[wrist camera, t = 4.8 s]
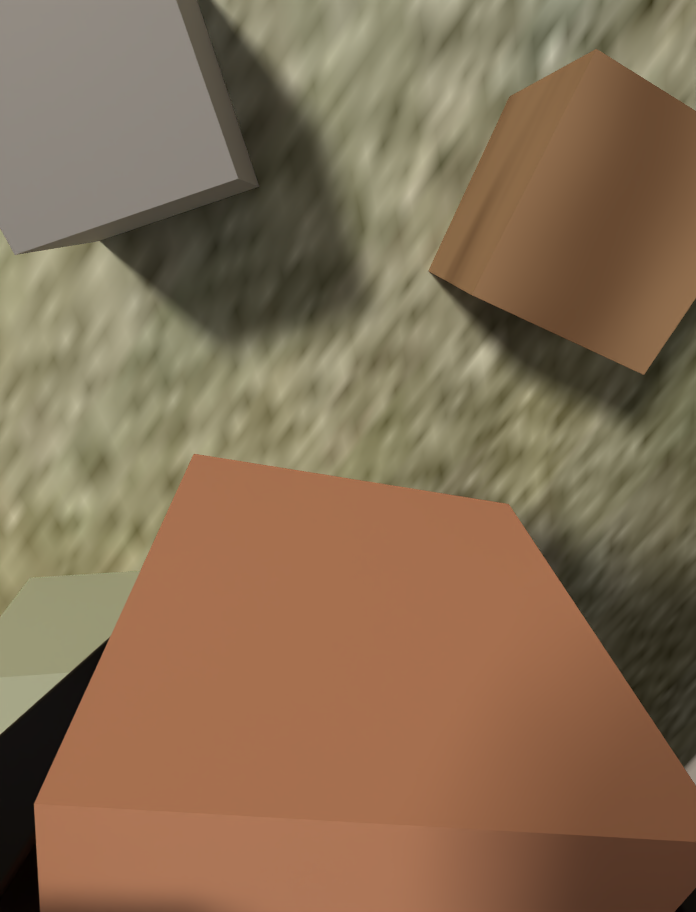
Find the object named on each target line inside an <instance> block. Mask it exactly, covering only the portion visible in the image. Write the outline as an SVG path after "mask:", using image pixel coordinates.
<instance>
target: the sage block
mask: <svg viewBox="0 0 696 912" xmlns="http://www.w3.org/2000/svg"><path fill="white" fill-rule="evenodd" d="M139 573H140V571H130V572H114V573H98V574H82V575H66V576H50V577H34V578H29V580H28V581H27V582H26V584H25V585H24V586H23V588H22V589H21V590H20V592H19V593H18V594H17V595H16V597H15V598H14V599H13V601H12V602H11V603H10V605H9V606H8V607H7V609H6V610H5V611H4V613H3V614H2V615H1V617H0V734H1V733H2V732H3V731H4V730H6V729H7V728H8V727H9V726H10V725H11V724H12V723H13V722H15V721H16V720H17V719H18V718H19V717H20V716H21V715H22V714H24V713H25V712H26V711H27V710H28V709H29V708H30V707H31V706H33V705H34V704H35V703H36V702H37V701H38V700H39V699H40V698H42V697H43V696H44V695H45V694H46V693H47V692H48V691H49V690H51V689H52V688H53V687H54V686H55V685H56V684H57V683H58V682H60V681H61V680H62V679H63V678H64V677H65V676H66V675H67V674H69V673H70V672H71V671H72V670H73V669H74V668H75V667H76V666H78V665H79V664H80V663H81V662H82V661H83V660H84V659H85V658H87V657H88V656H89V655H90V654H91V653H92V652H93V651H94V650H96V649H97V648H98V647H99V646H100V645H101V644H102V643H103V642H104V641H106V640H107V639H108V638H109V637H110V636H111V634H112V632H113V630H114V627H115V625H116V623H117V621H118V619H119V617H120V614H121V612H122V610H123V608H124V606H125V603H126V601H127V599H128V597H129V595H130V592H131V590H132V588H133V586H134V584H135V582H136V579H137V577H138V575H139Z"/></svg>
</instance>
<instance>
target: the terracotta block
mask: <svg viewBox="0 0 696 912" xmlns="http://www.w3.org/2000/svg"><path fill="white" fill-rule="evenodd" d="M34 814H35V832H36V849H37V866H38V883H39V900H40V912H675V911H676V909H677V908H678V907H679V906H680V905H681V904H682V903H683V902H684V900H685V899H686V898H687V897H688V896H689V895H690V894H691V893H692V891H693V890H694V889H695V888H696V785H695V784H694V782H693V781H692V779H691V778H690V776H689V775H688V773H687V772H686V770H685V769H684V767H683V766H682V764H681V763H680V761H679V760H678V758H677V757H676V755H675V754H674V752H673V751H672V749H671V748H670V746H669V745H668V743H667V742H666V740H665V739H664V737H663V736H662V734H661V733H660V731H659V729H658V728H657V726H656V725H655V723H654V722H653V720H652V719H651V717H650V716H649V714H648V713H647V711H646V710H645V708H644V707H643V705H642V704H641V702H640V701H639V699H638V698H637V696H636V695H635V693H634V692H633V690H632V689H631V687H630V686H629V684H628V683H627V681H626V680H625V678H624V677H623V675H622V674H621V672H620V671H619V669H618V668H617V666H616V665H615V663H614V662H613V660H612V659H611V657H610V656H609V654H608V653H607V651H606V650H605V648H604V647H603V645H602V644H601V642H600V641H599V639H598V638H597V636H596V635H595V633H594V632H593V630H592V629H591V627H590V626H589V624H588V623H587V621H586V620H585V618H584V617H583V615H582V614H581V612H580V611H579V609H578V608H577V606H576V605H575V603H574V602H573V600H572V599H571V597H570V596H569V594H568V593H567V591H566V590H565V588H564V587H563V585H562V584H561V582H560V581H559V579H558V577H557V576H556V574H555V573H554V571H553V570H552V568H551V567H550V565H549V564H548V562H547V561H546V559H545V558H544V556H543V555H542V553H541V552H540V550H539V549H538V547H537V546H536V544H535V543H534V541H533V540H532V538H531V537H530V535H529V534H528V532H527V531H526V529H525V528H524V526H523V525H522V523H521V522H520V520H519V519H518V517H517V516H516V514H515V513H514V511H513V510H512V508H511V507H510V505H509V504H505V503H498V502H492V501H486V500H480V499H473V498H467V497H461V496H455V495H448V494H442V493H436V492H430V491H423V490H417V489H411V488H405V487H398V486H392V485H386V484H380V483H373V482H367V481H361V480H354V479H348V478H342V477H336V476H329V475H323V474H317V473H311V472H304V471H298V470H292V469H286V468H279V467H273V466H267V465H261V464H254V463H248V462H242V461H236V460H229V459H223V458H217V457H211V456H204V455H198V454H194V455H193V457H192V459H191V461H190V463H189V465H188V468H187V470H186V472H185V474H184V476H183V479H182V481H181V483H180V485H179V487H178V490H177V492H176V494H175V496H174V498H173V501H172V503H171V505H170V507H169V509H168V511H167V514H166V516H165V518H164V520H163V522H162V525H161V527H160V529H159V531H158V533H157V536H156V538H155V540H154V542H153V544H152V546H151V549H150V551H149V553H148V555H147V557H146V560H145V562H144V564H143V566H142V568H141V571H140V573H139V575H138V577H137V579H136V582H135V584H134V586H133V588H132V590H131V592H130V595H129V597H128V599H127V601H126V603H125V606H124V608H123V610H122V612H121V614H120V617H119V619H118V621H117V623H116V625H115V627H114V630H113V632H112V634H111V636H110V638H109V641H108V643H107V645H106V647H105V649H104V652H103V654H102V656H101V658H100V660H99V663H98V665H97V667H96V669H95V671H94V673H93V676H92V678H91V680H90V682H89V684H88V687H87V689H86V691H85V693H84V695H83V698H82V700H81V702H80V704H79V706H78V708H77V711H76V713H75V715H74V717H73V719H72V722H71V724H70V726H69V728H68V730H67V733H66V735H65V737H64V739H63V741H62V744H61V746H60V748H59V750H58V752H57V754H56V757H55V759H54V761H53V763H52V765H51V768H50V770H49V772H48V774H47V776H46V779H45V781H44V783H43V785H42V787H41V789H40V792H39V794H38V796H37V798H36V800H35V803H34Z"/></svg>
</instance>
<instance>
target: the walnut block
mask: <svg viewBox="0 0 696 912" xmlns="http://www.w3.org/2000/svg"><path fill="white" fill-rule="evenodd" d="M429 272H431V273H433V274H435V275H436V276H438V277H440V278H442V279H444V280H445V281H447V282H449V283H451V284H453V285H454V286H456V287H458V288H460V289H462V290H463V291H465V292H467V293H469V294H471V295H473V296H475V297H477V298H479V299H481V300H483V301H486V302H488V303H490V304H492V305H494V306H496V307H498V308H501V309H503V310H505V311H507V312H509V313H511V314H514V315H516V316H518V317H520V318H522V319H524V320H527V321H529V322H531V323H533V324H535V325H537V326H539V327H542V328H544V329H546V330H548V331H550V332H552V333H555V334H557V335H559V336H561V337H563V338H565V339H567V340H570V341H572V342H574V343H576V344H578V345H580V346H583V347H585V348H587V349H589V350H591V351H593V352H596V353H598V354H600V355H602V356H604V357H606V358H608V359H611V360H613V361H615V362H617V363H619V364H621V365H624V366H626V367H628V368H630V369H632V370H634V371H636V372H639V373H641V374H643V375H644V374H645V372H646V371H647V369H648V368H649V367H650V365H651V364H652V362H653V361H654V359H655V358H656V356H657V355H658V353H659V352H660V350H661V349H662V347H663V346H664V344H665V343H666V341H667V340H668V338H669V337H670V335H671V334H672V332H673V331H674V330H675V328H676V327H677V325H678V324H679V322H680V321H681V319H682V318H683V316H684V315H685V313H686V312H687V310H688V309H689V307H690V306H691V304H692V303H693V301H694V300H695V298H696V111H695V110H693V109H692V108H690V107H689V106H687V105H685V104H684V103H682V102H681V101H679V100H677V99H676V98H674V97H673V96H671V95H669V94H668V93H666V92H665V91H663V90H661V89H660V88H658V87H657V86H655V85H653V84H652V83H650V82H649V81H647V80H645V79H644V78H642V77H641V76H639V75H637V74H636V73H634V72H632V71H631V70H629V69H628V68H626V67H624V66H623V65H621V64H620V63H618V62H616V61H615V60H613V59H612V58H610V57H608V56H607V55H605V54H604V53H602V52H600V51H599V50H597V49H595V50H594V51H592V52H590V53H588V54H586V55H585V56H583V57H581V58H579V59H577V60H575V61H574V62H572V63H570V64H568V65H566V66H565V67H563V68H561V69H559V70H557V71H555V72H554V73H552V74H550V75H548V76H546V77H544V78H543V79H541V80H539V81H537V82H535V83H534V84H532V85H530V86H528V87H526V88H524V89H523V90H521V91H519V92H517V93H515V94H514V95H512V96H510V97H509V99H508V101H507V103H506V105H505V108H504V110H503V112H502V114H501V116H500V118H499V120H498V123H497V125H496V127H495V129H494V131H493V133H492V135H491V138H490V140H489V142H488V144H487V146H486V148H485V151H484V153H483V155H482V157H481V159H480V161H479V163H478V166H477V168H476V170H475V172H474V174H473V176H472V178H471V181H470V183H469V185H468V187H467V189H466V191H465V193H464V196H463V198H462V200H461V202H460V204H459V206H458V209H457V211H456V213H455V215H454V217H453V219H452V221H451V224H450V226H449V228H448V230H447V232H446V234H445V236H444V239H443V241H442V243H441V245H440V247H439V249H438V251H437V254H436V256H435V258H434V260H433V262H432V264H431V267H430V269H429Z"/></svg>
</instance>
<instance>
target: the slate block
mask: <svg viewBox="0 0 696 912" xmlns="http://www.w3.org/2000/svg"><path fill="white" fill-rule="evenodd" d="M257 187H259V184H258V181H257V178H256V175H255V172H254V169H253V166H252V163H251V160H250V157H249V154H248V151H247V148H246V145H245V142H244V139H243V136H242V133H241V130H240V127H239V124H238V121H237V118H236V115H235V112H234V109H233V106H232V103H231V100H230V97H229V94H228V91H227V88H226V85H225V82H224V79H223V76H222V73H221V70H220V67H219V64H218V61H217V58H216V55H215V52H214V49H213V46H212V43H211V40H210V37H209V34H208V31H207V28H206V25H205V22H204V19H203V16H202V13H201V10H200V7H199V4H198V1H197V0H0V229H1V230H2V232H3V234H4V236H5V238H6V240H7V241H8V243H9V245H10V247H11V249H12V251H13V252H14V254H15V255H17V254H23V253H29V252H35V251H41V250H47V249H53V248H60V247H66V246H72V245H78V244H84V243H90V242H96V241H101V240H104V239H107V238H110V237H113V236H115V235H118V234H121V233H124V232H127V231H130V230H133V229H136V228H139V227H142V226H145V225H148V224H151V223H154V222H157V221H160V220H163V219H166V218H169V217H171V216H174V215H177V214H180V213H183V212H186V211H189V210H192V209H195V208H198V207H201V206H204V205H207V204H210V203H213V202H216V201H219V200H222V199H225V198H227V197H230V196H233V195H236V194H239V193H242V192H245V191H248V190H251V189H254V188H257Z"/></svg>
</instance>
